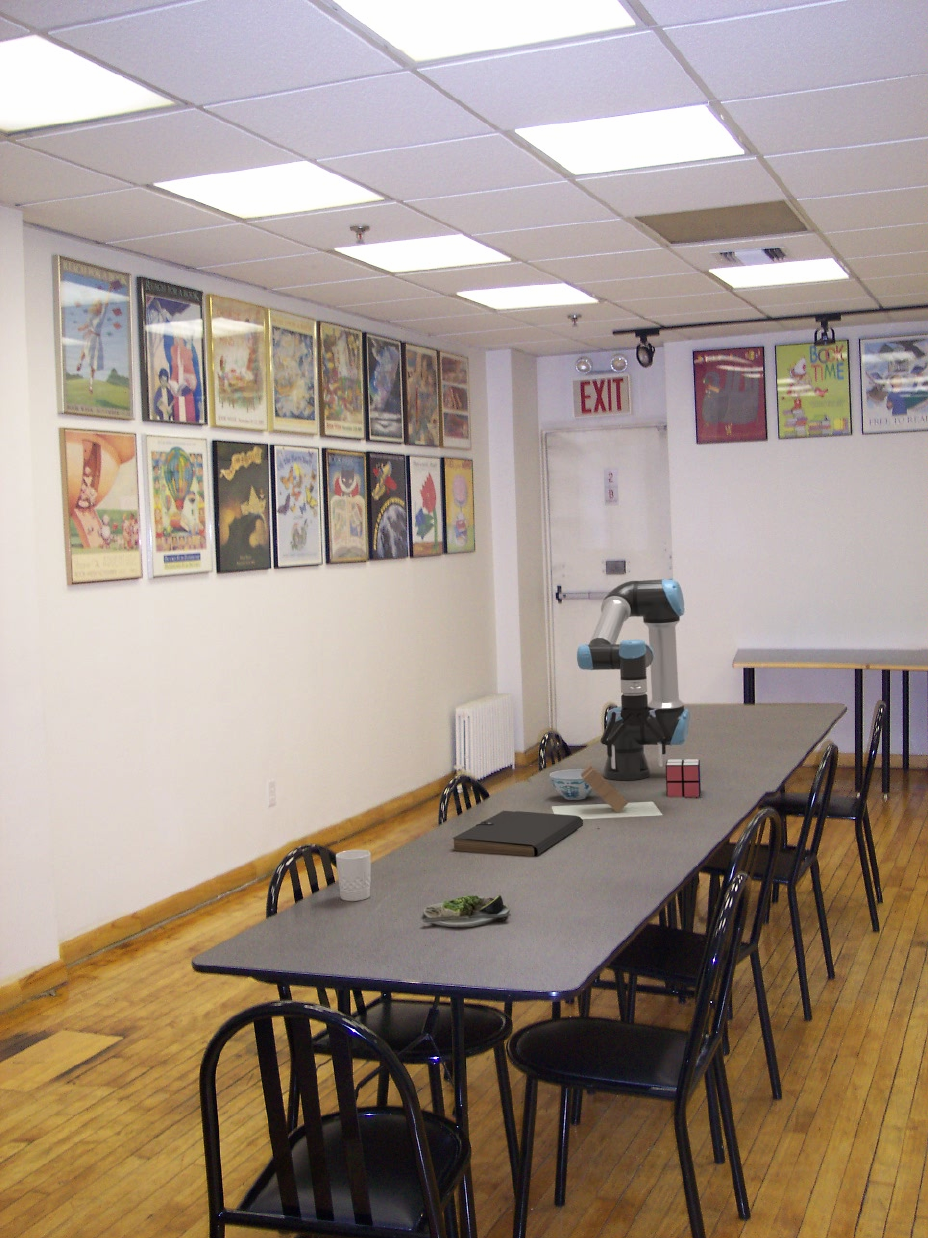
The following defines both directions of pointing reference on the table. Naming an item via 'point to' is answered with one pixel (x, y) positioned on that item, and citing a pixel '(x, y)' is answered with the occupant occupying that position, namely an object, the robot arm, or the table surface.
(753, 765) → the table surface
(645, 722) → the robot arm
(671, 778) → the puzzle cube
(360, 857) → the white cup
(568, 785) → the chinaware
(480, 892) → the table surface
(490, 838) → the file folder
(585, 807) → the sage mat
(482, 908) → the salad plate
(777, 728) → the table surface
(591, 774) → the walnut block
